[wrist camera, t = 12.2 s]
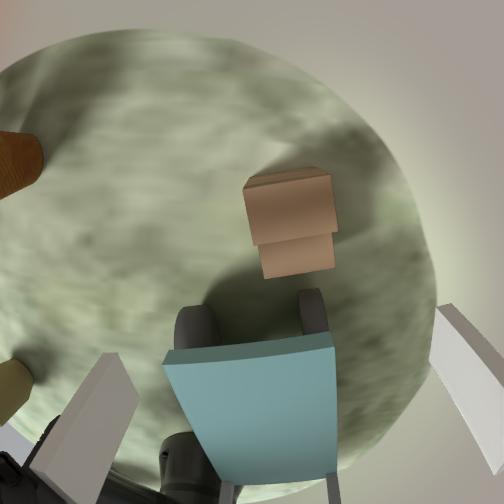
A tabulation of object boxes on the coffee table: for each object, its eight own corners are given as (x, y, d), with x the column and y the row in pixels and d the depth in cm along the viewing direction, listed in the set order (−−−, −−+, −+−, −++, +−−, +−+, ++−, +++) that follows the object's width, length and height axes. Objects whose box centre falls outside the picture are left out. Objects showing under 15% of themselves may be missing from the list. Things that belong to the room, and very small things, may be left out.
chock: (325, 248, 30) (343, 282, 23) (265, 258, 31) (263, 296, 23) (313, 166, 28) (330, 174, 20) (249, 177, 28) (242, 189, 21)
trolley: (326, 415, 38) (342, 530, 21) (234, 425, 39) (220, 537, 22) (314, 272, 31) (355, 411, 14) (189, 291, 32) (124, 424, 15)
